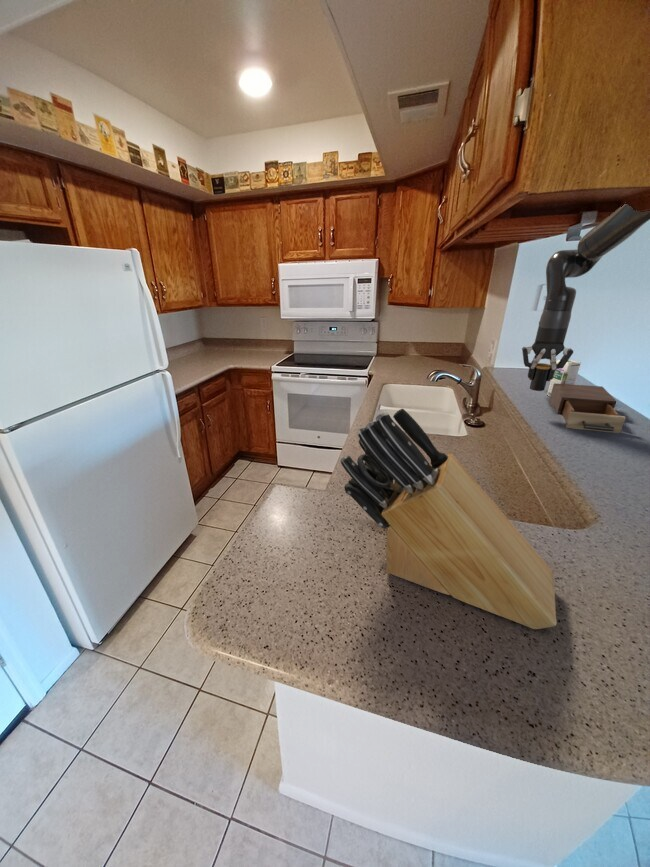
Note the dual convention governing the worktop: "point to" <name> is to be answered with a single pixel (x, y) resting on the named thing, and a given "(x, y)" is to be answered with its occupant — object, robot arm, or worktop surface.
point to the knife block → (446, 525)
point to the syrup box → (565, 374)
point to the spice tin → (540, 377)
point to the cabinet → (578, 395)
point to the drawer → (592, 416)
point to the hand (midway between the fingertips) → (539, 379)
